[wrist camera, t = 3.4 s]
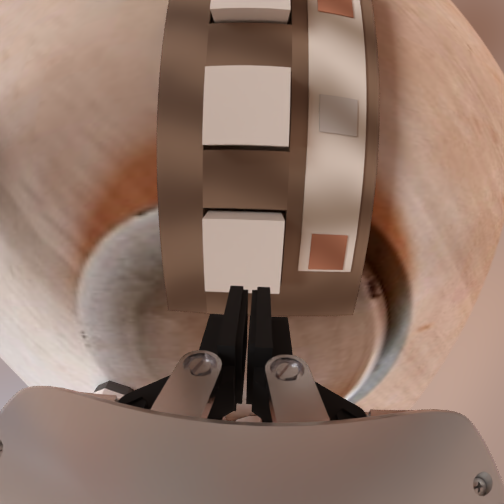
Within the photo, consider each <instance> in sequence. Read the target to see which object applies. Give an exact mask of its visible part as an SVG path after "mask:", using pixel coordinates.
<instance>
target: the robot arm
mask: <svg viewBox="0 0 504 504" xmlns="http://www.w3.org/2000/svg"><path fill="white" fill-rule="evenodd" d="M247 320H248V290H244V289H243V286H230V290H229V294H228V299H227V303H226V308H225V312H224V315H222V314H210V316H209V319H208V322H207V326H206V329H205V332H204V336H203V339H202V342H201V346H200V349H199V350H197V351H192V352H189V353H187V354H185V355H184V356H183V357H182V358H181V359H180V360H179V362H178V364H177V365H176V367H175V369H174V370H173V372H172V374H171V375H170V376H167V377H165V378H163V379H161V380H158V381H156V382H154V383H152V384H149V385H147V386H144V387H142V388H140V389H137V390H135V391H132V392H130V393H128V394H126V395H124V396H122V397H121V398H117V396H116V395H106V394H94V393H84V392H78V391H74V390H69V389H65V388H59V387H52V386H32V387H27V388H24V389H22V390H20V391H19V392H17V393H16V394H15V395H14V396H13V397H12V398H11V399H10V400H9V401H8V402H7V403H6V405H5V406H4V407H3V409H2V410H1V411H0V504H504V485H503V482H502V479H501V476H500V474H499V471H498V469H497V466H496V464H495V462H494V459H493V457H492V455H491V453H490V451H489V449H488V447H487V445H486V443H485V441H484V440H483V438H482V436H481V435H480V433H479V432H478V430H477V429H476V427H475V426H474V425H473V423H472V422H471V421H470V420H469V419H468V418H467V417H465V416H464V415H462V414H460V413H457V412H453V411H447V410H437V409H431V410H430V409H429V410H428V409H427V410H370V412H364V411H363V410H362V409H361V408H360V407H358V406H356V405H355V404H353V403H351V402H349V401H347V400H346V399H344V398H342V397H340V396H339V395H337V394H335V393H333V392H332V391H330V390H328V389H327V388H325V387H323V386H321V385H320V384H318V383H316V382H315V381H314V379H313V376H312V374H311V371H310V369H309V366H308V365H307V363H306V362H305V361H304V360H303V359H301V358H299V357H297V356H293V355H292V347H291V339H290V331H289V324H288V318H287V317H271V296H270V287H257V290H252V299H251V313H250V326H249V339H248V360H247V398H246V404H252V412H253V413H255V414H256V415H257V416H258V417H260V418H261V420H260V422H240V421H226V420H225V416H226V415H227V414H229V413H231V412H232V411H236V404H237V403H239V404H242V396H243V384H244V372H245V360H246V348H247Z"/></svg>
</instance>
